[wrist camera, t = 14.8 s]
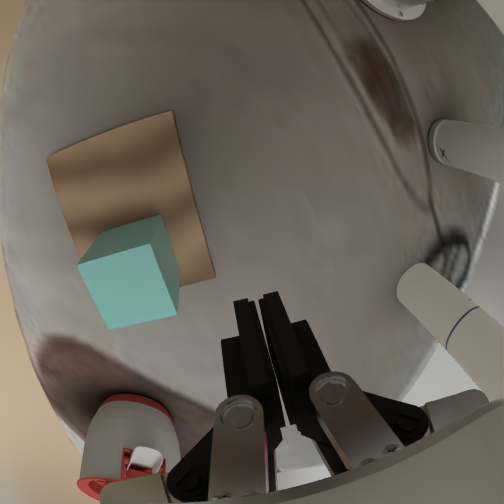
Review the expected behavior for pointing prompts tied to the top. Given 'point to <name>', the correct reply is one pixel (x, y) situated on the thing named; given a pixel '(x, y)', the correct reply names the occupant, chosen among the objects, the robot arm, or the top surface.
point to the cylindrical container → (457, 326)
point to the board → (133, 189)
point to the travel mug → (469, 147)
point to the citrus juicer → (127, 443)
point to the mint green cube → (132, 273)
